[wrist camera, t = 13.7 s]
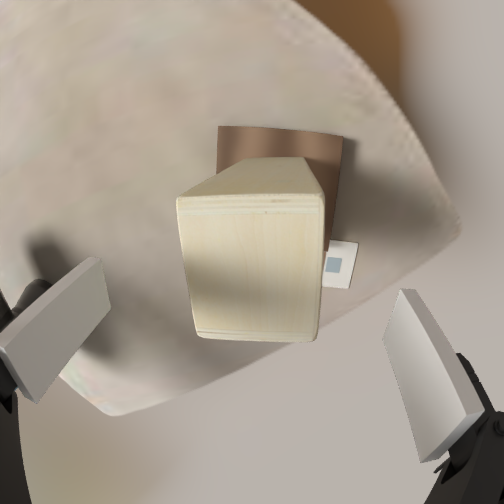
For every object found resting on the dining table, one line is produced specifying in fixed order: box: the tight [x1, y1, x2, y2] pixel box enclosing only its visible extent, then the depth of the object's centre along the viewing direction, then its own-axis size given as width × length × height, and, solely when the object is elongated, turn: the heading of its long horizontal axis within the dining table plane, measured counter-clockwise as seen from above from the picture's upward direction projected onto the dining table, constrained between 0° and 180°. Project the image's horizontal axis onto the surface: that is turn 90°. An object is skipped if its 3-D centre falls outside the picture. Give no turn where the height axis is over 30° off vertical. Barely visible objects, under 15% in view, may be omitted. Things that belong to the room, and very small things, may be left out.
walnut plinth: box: [216, 126, 343, 252], centre depth 34 cm, size 14×14×3 cm
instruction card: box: [322, 240, 358, 289], centre depth 38 cm, size 9×7×1 cm
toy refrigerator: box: [176, 157, 325, 342], centre depth 23 cm, size 8×7×21 cm
